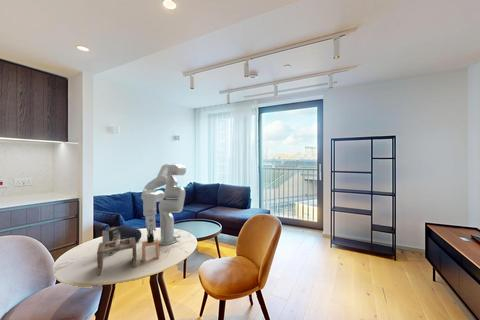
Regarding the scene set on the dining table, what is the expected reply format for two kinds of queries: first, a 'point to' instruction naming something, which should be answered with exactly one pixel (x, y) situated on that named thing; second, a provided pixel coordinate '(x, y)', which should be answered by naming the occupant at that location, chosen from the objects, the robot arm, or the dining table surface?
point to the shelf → (117, 247)
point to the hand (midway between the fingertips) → (150, 241)
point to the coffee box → (110, 237)
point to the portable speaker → (129, 232)
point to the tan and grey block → (145, 244)
